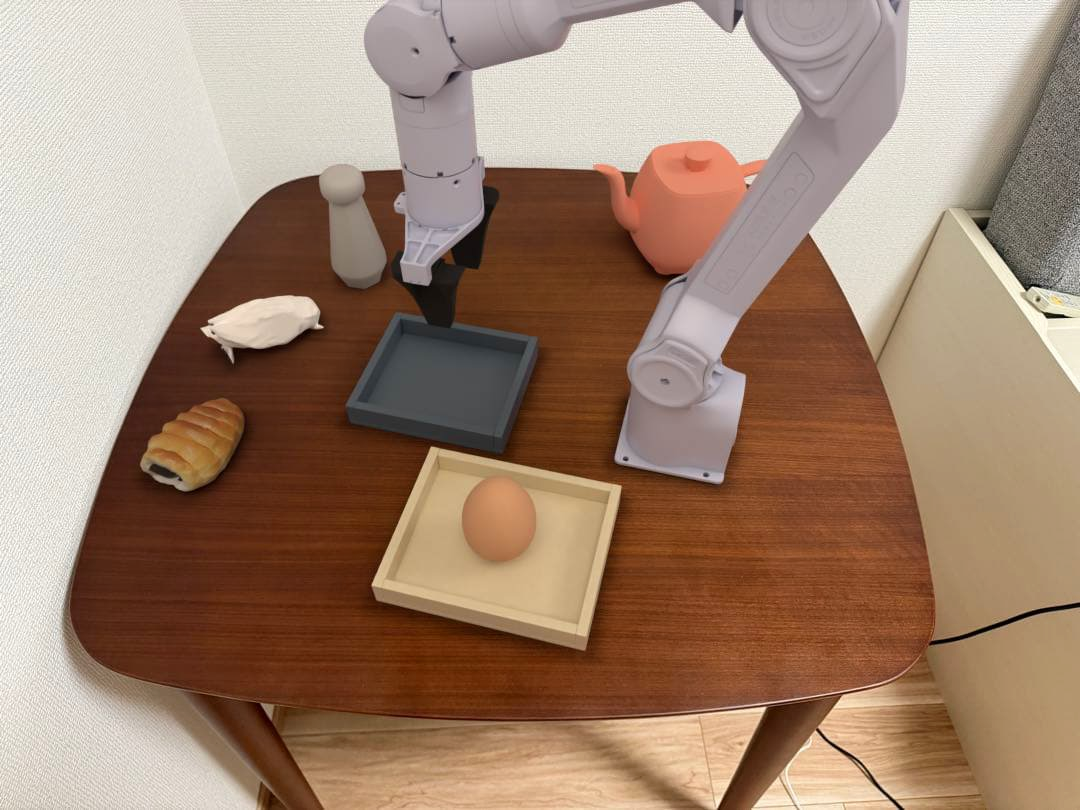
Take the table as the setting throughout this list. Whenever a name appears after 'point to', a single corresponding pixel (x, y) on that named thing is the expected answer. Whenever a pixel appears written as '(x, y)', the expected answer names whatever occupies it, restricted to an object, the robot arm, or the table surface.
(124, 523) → the table surface
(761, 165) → the teapot
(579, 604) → the ivory tray
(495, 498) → the egg
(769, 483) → the table surface
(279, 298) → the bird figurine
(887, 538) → the table surface
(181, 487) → the pastry
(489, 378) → the slate tray
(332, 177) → the salt shaker
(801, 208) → the robot arm
